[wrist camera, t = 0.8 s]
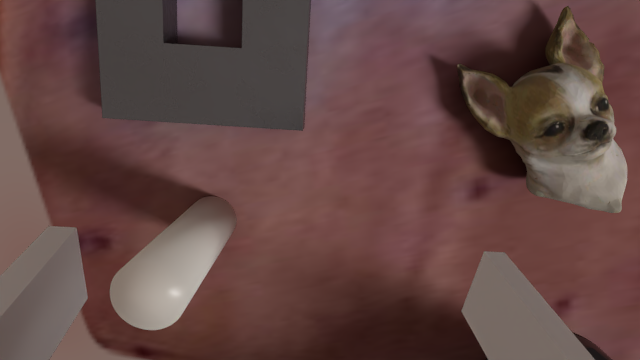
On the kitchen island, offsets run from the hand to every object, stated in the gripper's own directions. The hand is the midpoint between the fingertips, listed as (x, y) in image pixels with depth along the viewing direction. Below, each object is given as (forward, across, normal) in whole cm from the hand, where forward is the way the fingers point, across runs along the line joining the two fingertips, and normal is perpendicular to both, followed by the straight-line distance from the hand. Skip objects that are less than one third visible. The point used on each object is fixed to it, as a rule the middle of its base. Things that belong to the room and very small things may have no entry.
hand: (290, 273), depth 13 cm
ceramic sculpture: (+21, -22, -1) cm, 30 cm away
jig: (+25, +6, -6) cm, 27 cm away
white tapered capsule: (+21, +6, +12) cm, 25 cm away
